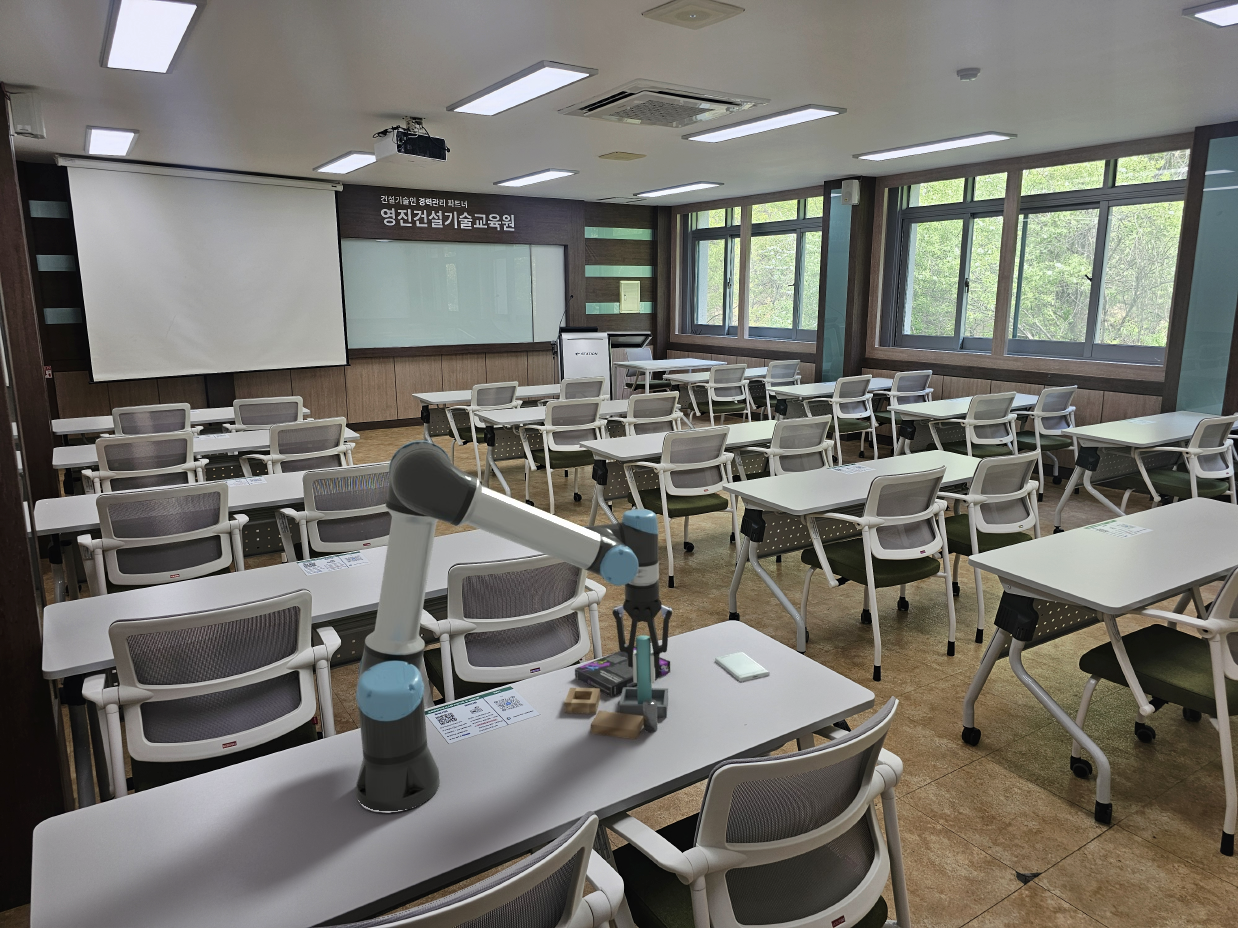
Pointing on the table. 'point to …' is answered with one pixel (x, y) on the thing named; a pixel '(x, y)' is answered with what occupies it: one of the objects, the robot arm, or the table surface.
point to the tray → (632, 707)
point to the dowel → (643, 668)
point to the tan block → (617, 724)
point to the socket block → (582, 700)
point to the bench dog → (650, 715)
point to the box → (613, 673)
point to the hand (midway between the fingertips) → (644, 679)
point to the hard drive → (741, 666)
